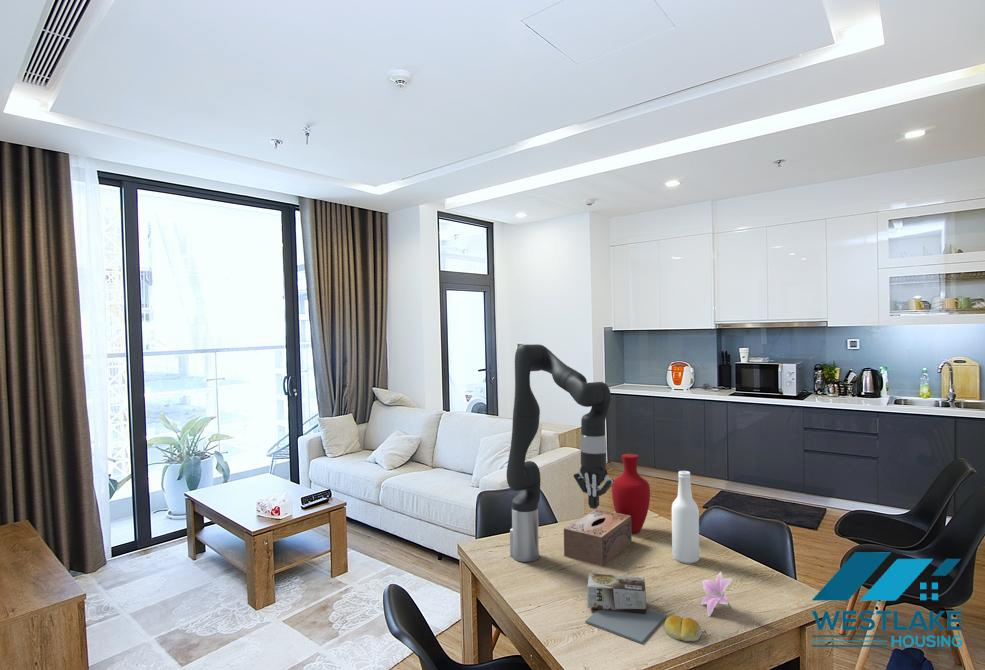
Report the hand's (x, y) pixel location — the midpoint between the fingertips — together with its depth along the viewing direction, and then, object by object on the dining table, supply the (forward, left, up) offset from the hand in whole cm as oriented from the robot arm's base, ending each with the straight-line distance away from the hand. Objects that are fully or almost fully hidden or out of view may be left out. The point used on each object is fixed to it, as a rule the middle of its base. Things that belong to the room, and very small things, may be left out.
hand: (593, 507), depth 157 cm
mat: (+13, -6, -27) cm, 30 cm away
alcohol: (+12, +43, -27) cm, 52 cm away
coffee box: (0, -4, -23) cm, 23 cm away
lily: (+30, +15, -27) cm, 43 cm away
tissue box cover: (-16, +33, -27) cm, 46 cm away
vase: (-14, +56, -27) cm, 64 cm away
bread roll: (+27, -3, -27) cm, 38 cm away
